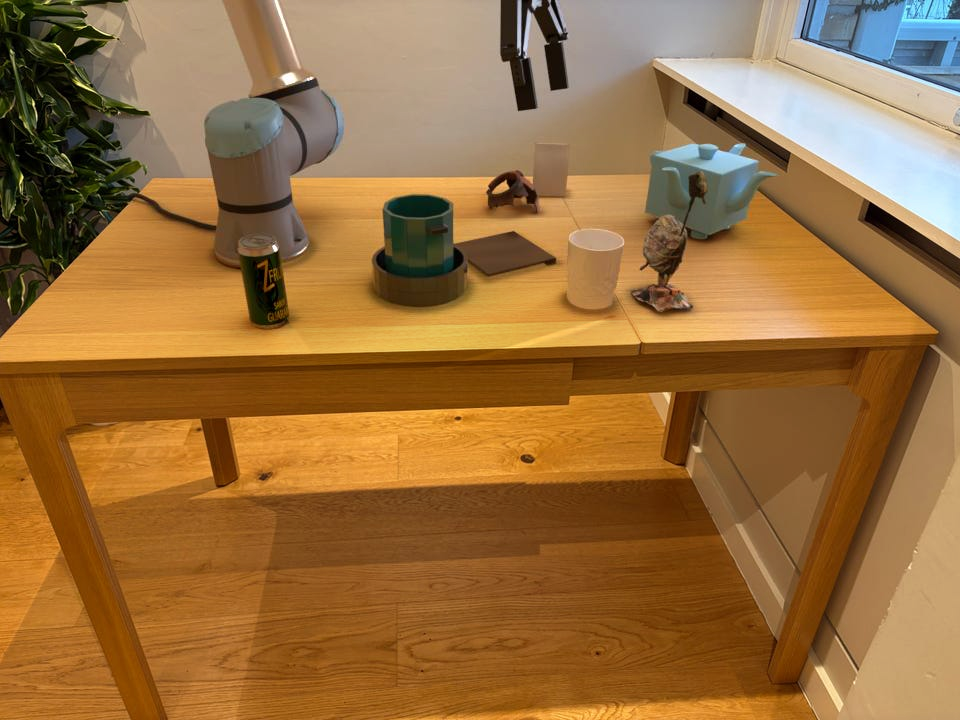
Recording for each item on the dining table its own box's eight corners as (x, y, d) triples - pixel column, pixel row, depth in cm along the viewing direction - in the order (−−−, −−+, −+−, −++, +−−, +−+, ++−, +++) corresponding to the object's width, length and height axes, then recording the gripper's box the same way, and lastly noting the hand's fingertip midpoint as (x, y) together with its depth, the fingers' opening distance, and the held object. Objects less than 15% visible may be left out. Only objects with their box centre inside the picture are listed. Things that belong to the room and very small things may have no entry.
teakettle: (637, 206, 142) (648, 130, 134) (734, 209, 141) (750, 133, 133) (651, 244, 126) (664, 161, 118) (760, 248, 125) (780, 164, 117)
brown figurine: (672, 280, 114) (694, 154, 103) (697, 315, 105) (725, 180, 94) (622, 282, 113) (639, 155, 103) (643, 316, 104) (664, 181, 93)
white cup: (581, 285, 112) (587, 224, 107) (626, 300, 108) (634, 238, 103) (552, 303, 107) (557, 240, 102) (598, 320, 103) (605, 255, 97)
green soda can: (242, 324, 100) (227, 243, 94) (269, 308, 104) (256, 230, 98) (271, 334, 98) (258, 252, 92) (298, 317, 102) (287, 238, 96)
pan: (359, 279, 112) (357, 250, 110) (440, 261, 119) (440, 233, 116) (398, 318, 102) (396, 287, 99) (484, 296, 108) (485, 266, 106)
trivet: (448, 250, 123) (448, 244, 122) (513, 236, 128) (513, 230, 128) (488, 280, 113) (488, 274, 113) (555, 263, 119) (556, 257, 118)
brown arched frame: (543, 221, 135) (524, 187, 130) (498, 238, 139) (478, 205, 134) (544, 185, 143) (526, 151, 138) (501, 201, 147) (483, 169, 142)
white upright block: (565, 196, 146) (569, 147, 140) (532, 195, 146) (535, 145, 141) (565, 190, 149) (569, 141, 143) (532, 189, 149) (535, 140, 144)
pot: (373, 274, 113) (367, 197, 106) (430, 262, 117) (428, 187, 110) (410, 310, 103) (406, 227, 96) (470, 294, 107) (471, 215, 101)
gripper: (510, -73, 83) (539, 115, 93) (575, -78, 103) (594, 78, 112) (453, -58, 87) (486, 122, 96) (527, -66, 106) (549, 85, 116)
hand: (544, 99), depth 104 cm, fingers open, 13 cm apart
